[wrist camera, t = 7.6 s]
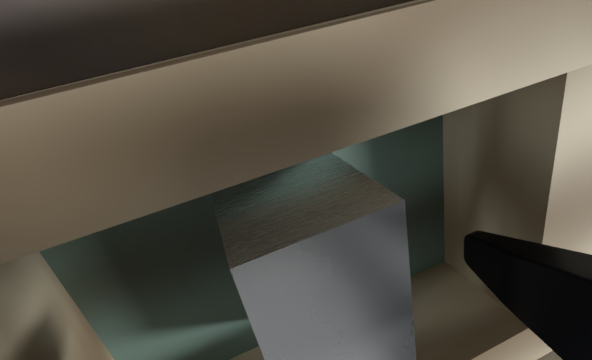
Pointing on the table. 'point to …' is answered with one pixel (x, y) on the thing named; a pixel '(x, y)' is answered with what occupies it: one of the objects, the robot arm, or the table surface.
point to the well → (287, 152)
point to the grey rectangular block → (320, 262)
